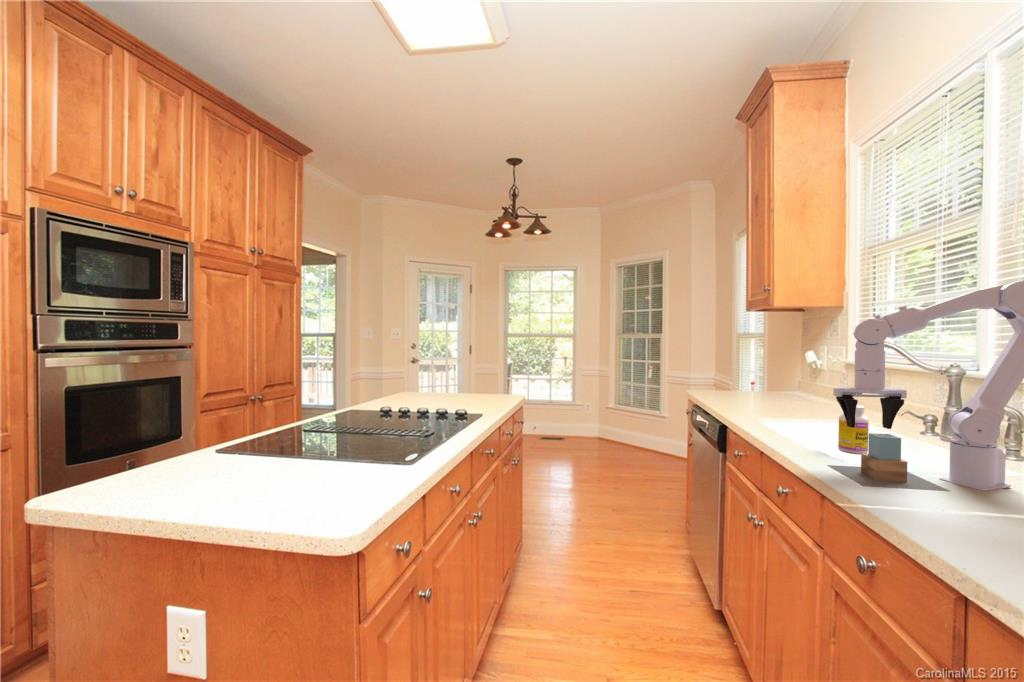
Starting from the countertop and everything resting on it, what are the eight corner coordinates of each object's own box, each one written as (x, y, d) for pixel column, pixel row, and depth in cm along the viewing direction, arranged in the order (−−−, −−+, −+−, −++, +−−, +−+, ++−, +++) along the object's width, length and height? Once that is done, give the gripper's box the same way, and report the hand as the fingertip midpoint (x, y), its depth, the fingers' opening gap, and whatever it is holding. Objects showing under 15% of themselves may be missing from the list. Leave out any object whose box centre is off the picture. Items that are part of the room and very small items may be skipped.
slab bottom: (860, 472, 108) (861, 462, 108) (890, 473, 107) (890, 464, 107) (876, 480, 102) (876, 470, 102) (907, 481, 101) (907, 471, 101)
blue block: (868, 454, 107) (868, 433, 106) (889, 455, 106) (889, 434, 106) (879, 459, 102) (879, 437, 102) (900, 460, 102) (901, 438, 102)
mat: (826, 466, 114) (826, 465, 114) (901, 470, 111) (901, 468, 111) (863, 487, 98) (863, 485, 98) (950, 492, 95) (950, 491, 95)
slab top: (861, 462, 108) (861, 453, 108) (890, 464, 107) (890, 454, 107) (876, 470, 102) (876, 460, 102) (907, 471, 101) (907, 461, 101)
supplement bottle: (855, 456, 124) (856, 408, 124) (832, 450, 131) (833, 404, 130) (874, 454, 126) (875, 407, 126) (850, 448, 132) (851, 403, 132)
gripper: (844, 371, 107) (843, 429, 108) (915, 372, 105) (914, 432, 105) (829, 368, 114) (828, 423, 115) (896, 370, 112) (895, 426, 112)
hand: (868, 427), depth 110 cm, fingers open, 7 cm apart
